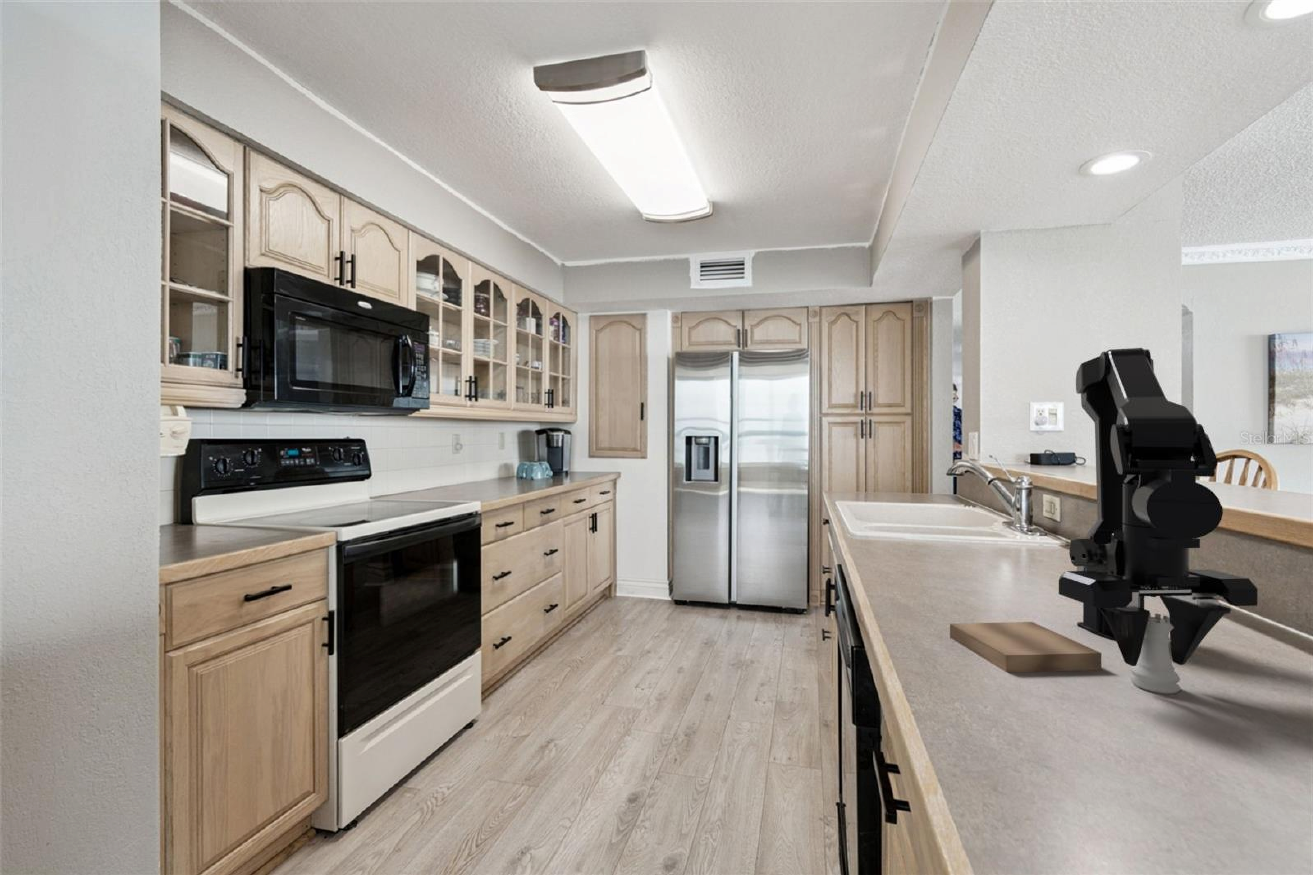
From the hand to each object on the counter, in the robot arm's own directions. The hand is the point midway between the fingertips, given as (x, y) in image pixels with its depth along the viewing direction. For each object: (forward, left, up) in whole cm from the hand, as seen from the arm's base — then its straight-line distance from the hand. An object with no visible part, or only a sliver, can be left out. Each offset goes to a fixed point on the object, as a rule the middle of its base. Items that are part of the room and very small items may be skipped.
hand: (1154, 664), depth 66 cm
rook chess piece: (0, 0, -3) cm, 3 cm away
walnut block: (+8, -11, -3) cm, 14 cm away
